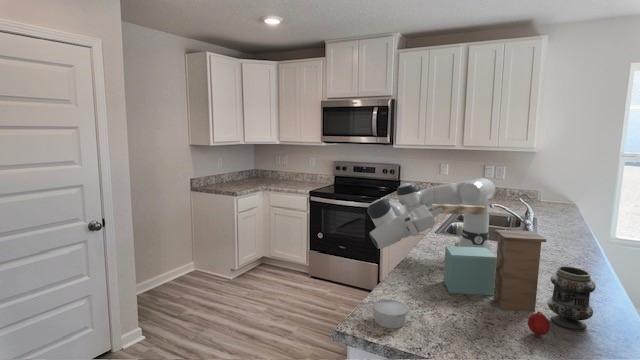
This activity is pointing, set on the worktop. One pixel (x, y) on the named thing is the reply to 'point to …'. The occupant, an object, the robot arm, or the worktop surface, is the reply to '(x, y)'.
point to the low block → (469, 270)
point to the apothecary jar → (571, 298)
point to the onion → (538, 324)
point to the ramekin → (390, 313)
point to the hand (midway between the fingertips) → (441, 207)
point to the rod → (460, 209)
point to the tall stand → (517, 269)
